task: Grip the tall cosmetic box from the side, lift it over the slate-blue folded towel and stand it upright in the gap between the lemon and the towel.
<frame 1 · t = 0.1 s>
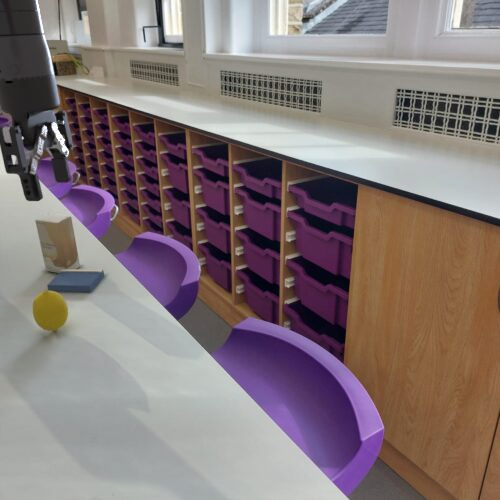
hand: (50, 190, 71), 26 cm above the table, tool pointing down, fingers open, 8 cm apart
lemon: (55, 331, 85), on the table
cosmetic box: (64, 269, 107), on the table
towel: (77, 283, 101), on the table
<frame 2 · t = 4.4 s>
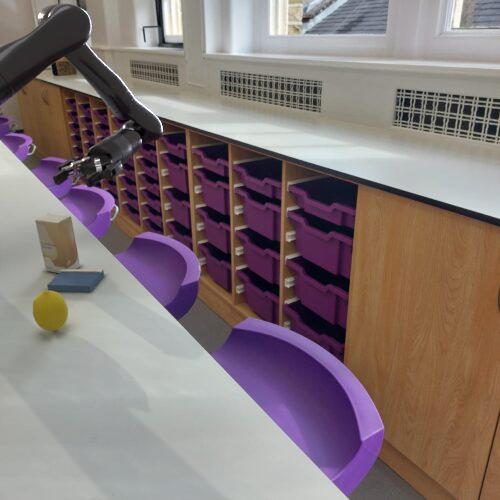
hand: (71, 182, 107), 17 cm above the table, tool horizontal, fingers open, 8 cm apart
nothing on the table moved.
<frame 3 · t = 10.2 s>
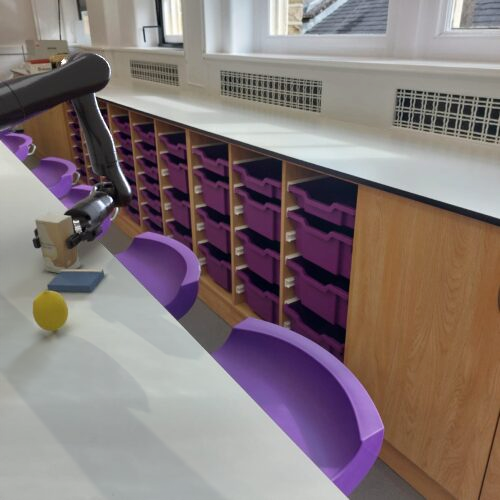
hand: (52, 244, 102), 7 cm above the table, tool horizontal, fingers closed on cosmetic box, 7 cm apart
cosmetic box: (64, 269, 107), on the table, touching gripper
everything else where it was.
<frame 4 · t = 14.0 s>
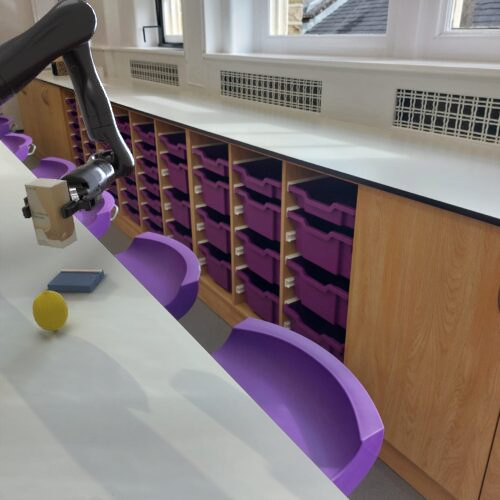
hand: (44, 213, 88), 18 cm above the table, tool horizontal, fingers closed on cosmetic box, 7 cm apart
cosmetic box: (58, 244, 93), point 11 cm above the table, touching gripper
everything else where it was.
when the fingers open (7 cm above the table, at t = 18.3 s): cosmetic box stays where it is, on the table.
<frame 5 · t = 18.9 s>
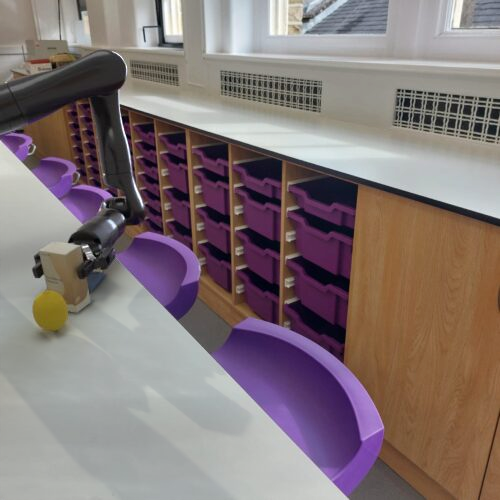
hand: (57, 274, 88), 8 cm above the table, tool horizontal, fingers open, 8 cm apart
cosmetic box: (72, 306, 93), on the table
everything else where it was.
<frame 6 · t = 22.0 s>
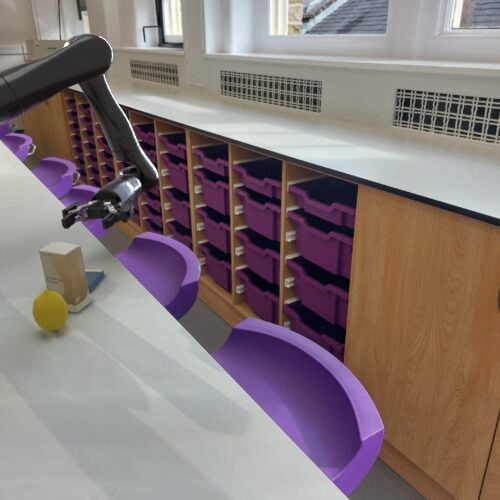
hand: (84, 224, 98), 12 cm above the table, tool horizontal, fingers open, 8 cm apart
nothing on the table moved.
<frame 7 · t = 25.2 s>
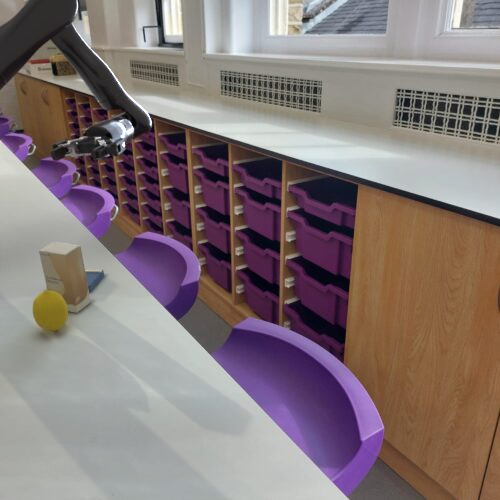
hand: (74, 155, 97), 25 cm above the table, tool horizontal, fingers open, 8 cm apart
nothing on the table moved.
at the end: cosmetic box inside the target area (0.4 cm from its centre), on the table; cosmetic box tilted 0°; lemon moved 0.2 cm from its start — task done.
